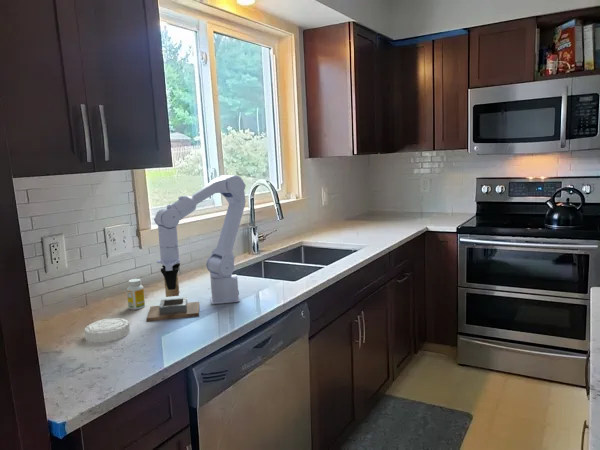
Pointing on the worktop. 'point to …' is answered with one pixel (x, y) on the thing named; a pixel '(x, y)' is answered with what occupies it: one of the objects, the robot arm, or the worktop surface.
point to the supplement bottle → (135, 294)
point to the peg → (175, 291)
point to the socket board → (173, 309)
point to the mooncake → (107, 330)
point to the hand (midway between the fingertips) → (172, 287)
